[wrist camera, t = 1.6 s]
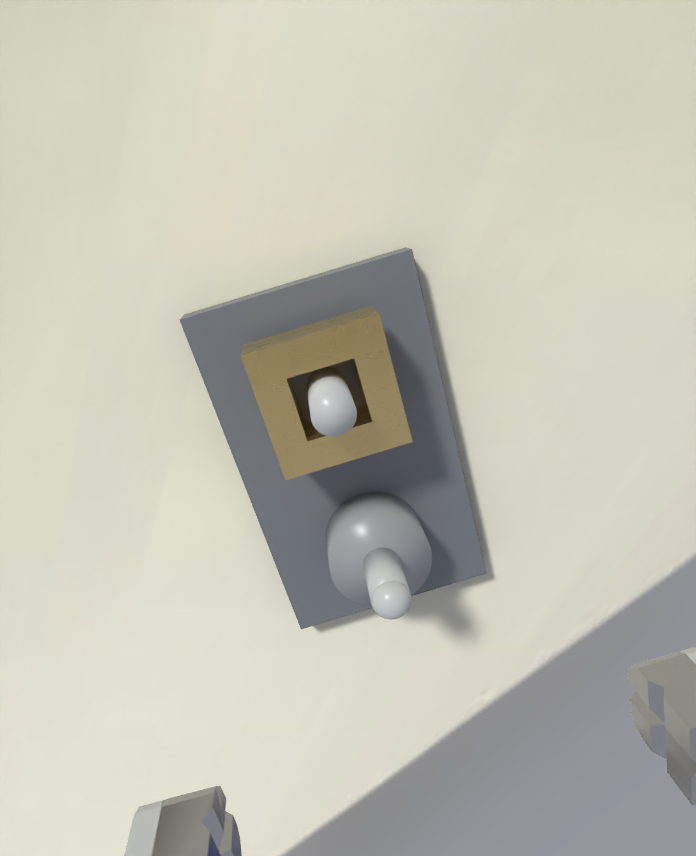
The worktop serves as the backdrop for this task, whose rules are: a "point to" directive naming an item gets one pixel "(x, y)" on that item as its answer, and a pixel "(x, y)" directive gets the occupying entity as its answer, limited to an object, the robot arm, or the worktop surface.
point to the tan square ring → (314, 350)
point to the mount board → (354, 480)
